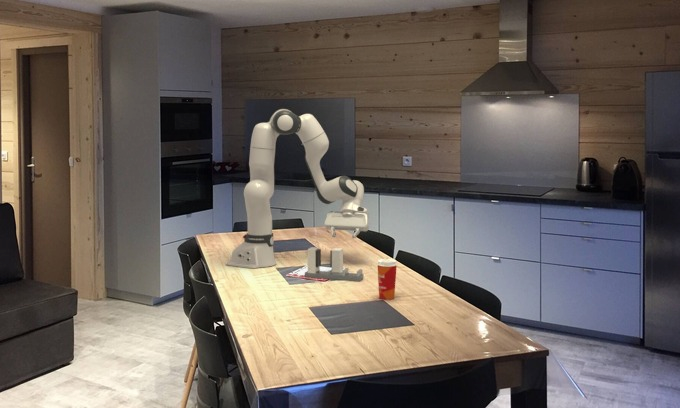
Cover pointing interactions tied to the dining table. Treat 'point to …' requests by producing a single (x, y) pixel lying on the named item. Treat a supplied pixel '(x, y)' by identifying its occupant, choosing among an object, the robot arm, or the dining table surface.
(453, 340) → the dining table surface
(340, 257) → the block
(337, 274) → the rail
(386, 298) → the paper cup
